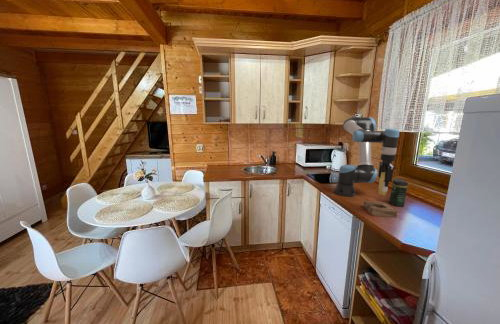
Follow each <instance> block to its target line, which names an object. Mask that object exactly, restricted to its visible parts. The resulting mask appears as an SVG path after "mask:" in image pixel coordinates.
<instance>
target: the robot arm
mask: <svg viewBox="0 0 500 324" xmlns="http://www.w3.org/2000/svg"><path fill="white" fill-rule="evenodd" d="M376 126H377V122H376V120H375V119H374V117H368V116H365V117H362V116H360V117H359V116H358V117H357V116H352V117H349V118H347V119H345V120H344V121H343V124H342V128H343V130H344V131H345V132H347V133H349V134H351V135H352V136H351V139H352V141H353V142H357V143H358V161H359V162H358V164H357V165H354V164H343V165H341V166H340V167H339V171H338V178H337V179H338V180H337V184H336V186H335V188H334V193H335V194H337V195H338V196H341V197H342V196H343V197H347V198H348V197H349V198H350V197H355V196H356V190H355V186H354V185H355V183H364V184H365V183H366V184H368V183H369V184H370V183H371V184H372V183H375V181H376V179H377V177H378V178H379V179H380V178H381V172H385V181H384V180H383V181H384V182H383V188H382V191H386V193H388V189H389V183H390V182H393V175H394V169H395V165H393V162H395V161H396V154H397V151H398V150H397V149H398V143H399V138H400V129H398V128H386V129H384V130H377V131H376ZM372 143H373V144H374V143H376V144H378V143H382V148H381V154H380V160H382V161H380V162H379V168H378V170H377V168H376V167H375V166H374V164H373V163H372ZM379 184H380V180H379V181H378V185H379ZM378 190H379V186H378Z"/></svg>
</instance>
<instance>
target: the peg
mask: <svg viewBox="0 0 500 324" xmlns="http://www.w3.org/2000/svg"><path fill="white" fill-rule="evenodd" d="M383 180H384V181H385V172H381V178H379V181H380V184H379V183H378V187H379V189H378V191H377V194H378V195H380V196H386V195H387V192H386V191H382V188H383V182H384V181H383Z"/></svg>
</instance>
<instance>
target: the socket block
mask: <svg viewBox="0 0 500 324" xmlns="http://www.w3.org/2000/svg"><path fill="white" fill-rule="evenodd" d="M363 208H364V209H365V210H366V211H367V212H368V213H369V215H371V216H372V217H373V216H374V217H387V218H397V216H398V215H397V214H398V211H397V210H396V209H395V208H393V207H392V206H391V205H390V204H388V203H387V202H382V201H370V200H364V201H363Z"/></svg>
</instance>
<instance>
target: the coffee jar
mask: <svg viewBox="0 0 500 324" xmlns="http://www.w3.org/2000/svg"><path fill="white" fill-rule="evenodd" d="M391 185H392V187H391V193H390V196H389V203H390V204H392V205H393V206H397V207H404V206H405V201H406V196H407V195H406V194H407V189H408V186H409V182H408V181H405V180H404V179H402V178H394V179H392V183H391Z"/></svg>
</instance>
